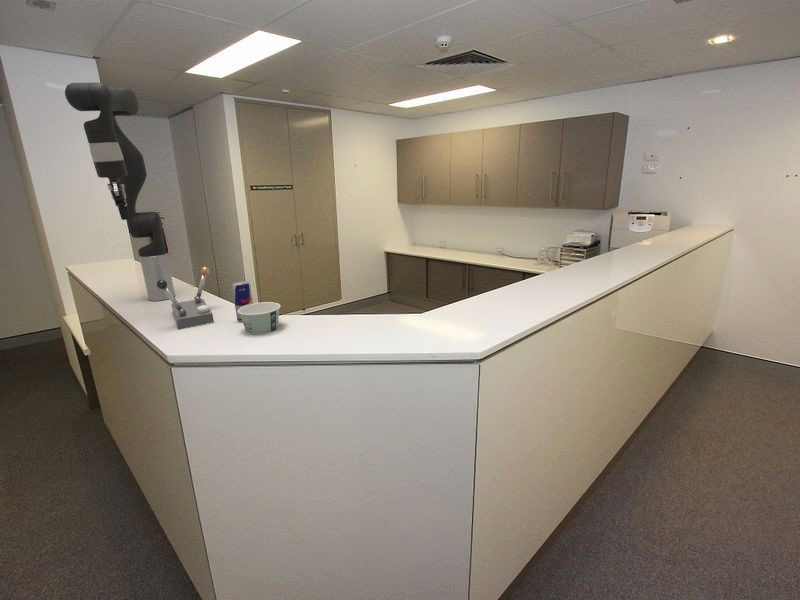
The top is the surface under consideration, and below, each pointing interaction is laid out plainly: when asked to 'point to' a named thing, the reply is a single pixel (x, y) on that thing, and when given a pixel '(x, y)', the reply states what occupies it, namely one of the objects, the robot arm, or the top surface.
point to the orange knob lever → (201, 284)
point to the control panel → (192, 314)
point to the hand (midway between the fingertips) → (126, 219)
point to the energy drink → (241, 296)
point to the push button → (203, 308)
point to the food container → (260, 317)
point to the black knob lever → (171, 296)
